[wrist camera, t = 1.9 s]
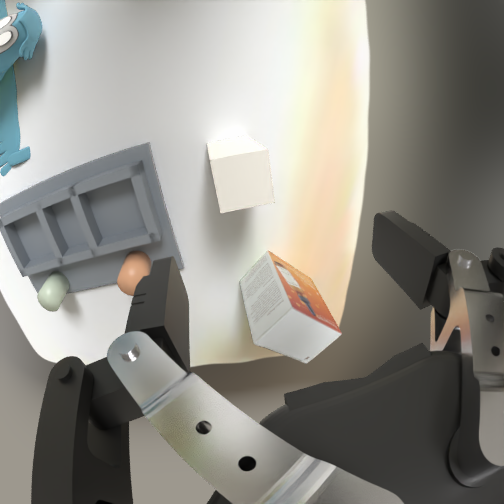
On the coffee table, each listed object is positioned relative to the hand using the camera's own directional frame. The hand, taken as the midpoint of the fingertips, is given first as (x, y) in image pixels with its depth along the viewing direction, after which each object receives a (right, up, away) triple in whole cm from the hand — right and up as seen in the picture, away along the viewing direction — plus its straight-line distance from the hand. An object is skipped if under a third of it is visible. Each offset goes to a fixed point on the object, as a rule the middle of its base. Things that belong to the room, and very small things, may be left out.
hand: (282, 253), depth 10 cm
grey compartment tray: (-21, +2, +17) cm, 27 cm away
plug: (-3, +9, +16) cm, 19 cm away
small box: (+2, -3, +25) cm, 25 cm away
